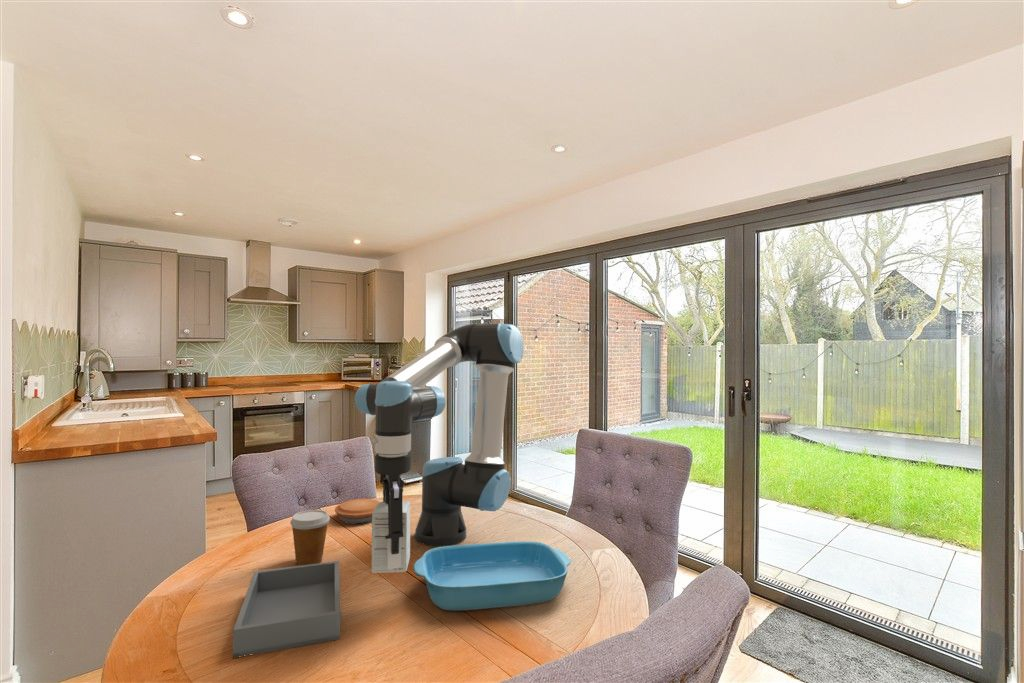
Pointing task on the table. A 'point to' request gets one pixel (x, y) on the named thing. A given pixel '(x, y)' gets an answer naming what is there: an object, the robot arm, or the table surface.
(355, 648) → the table surface
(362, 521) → the pie
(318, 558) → the disposable coffee cup
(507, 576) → the casserole dish
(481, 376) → the robot arm
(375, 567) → the supplement box
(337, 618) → the bin
